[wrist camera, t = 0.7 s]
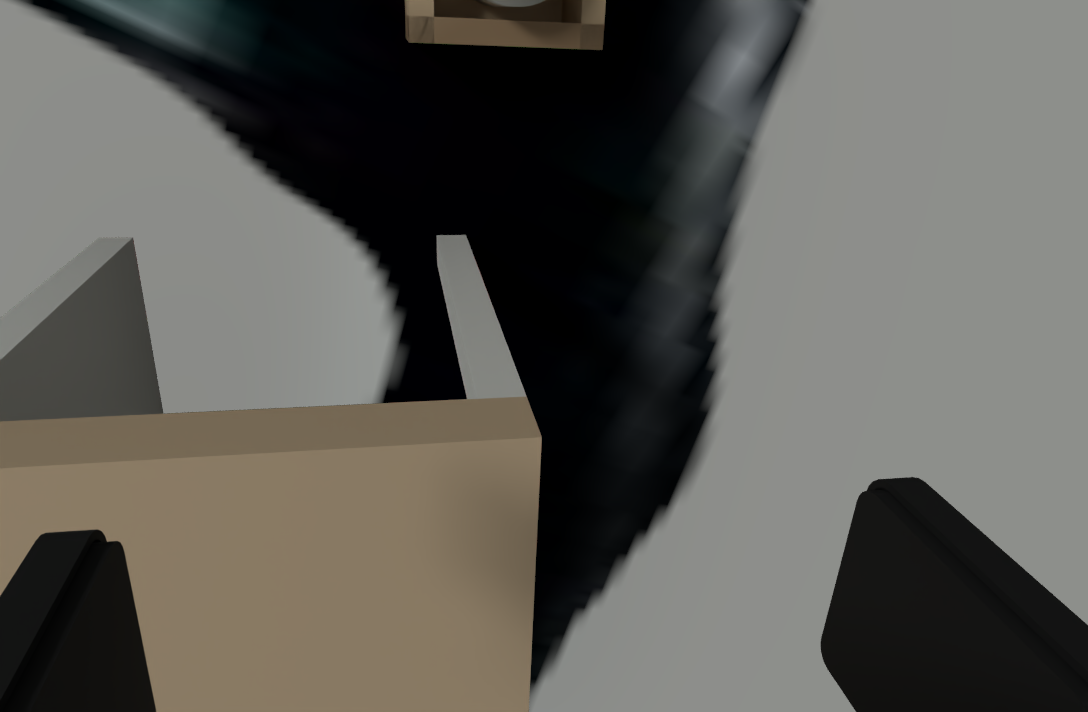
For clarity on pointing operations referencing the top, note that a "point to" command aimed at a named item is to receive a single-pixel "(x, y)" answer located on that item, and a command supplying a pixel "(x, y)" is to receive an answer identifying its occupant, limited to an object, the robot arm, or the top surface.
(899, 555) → the robot arm
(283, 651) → the tan rectangular box
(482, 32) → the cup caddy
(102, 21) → the top surface
